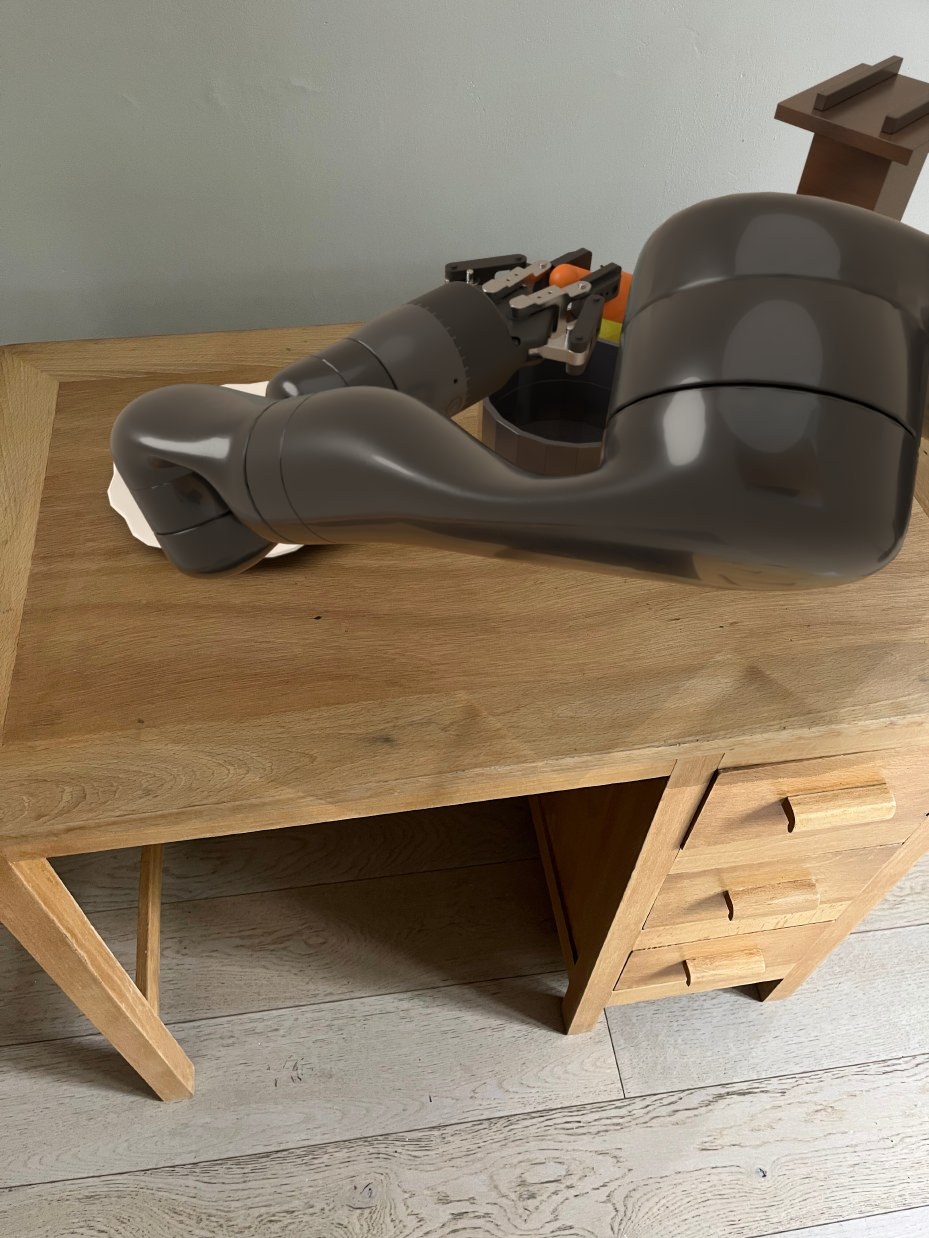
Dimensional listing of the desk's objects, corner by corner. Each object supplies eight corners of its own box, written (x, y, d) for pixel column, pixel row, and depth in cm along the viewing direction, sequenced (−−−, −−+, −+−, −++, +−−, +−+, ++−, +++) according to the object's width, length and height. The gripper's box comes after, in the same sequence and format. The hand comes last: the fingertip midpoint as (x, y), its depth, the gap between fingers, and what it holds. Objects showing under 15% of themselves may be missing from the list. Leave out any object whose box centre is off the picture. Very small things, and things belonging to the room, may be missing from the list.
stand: (838, 465, 83) (1008, 88, 57) (774, 520, 78) (927, 135, 53) (744, 413, 88) (861, 45, 62) (677, 462, 83) (775, 84, 58)
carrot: (670, 340, 72) (691, 297, 70) (564, 314, 59) (587, 262, 57) (636, 322, 73) (656, 280, 72) (526, 293, 61) (548, 242, 59)
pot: (682, 476, 82) (705, 389, 74) (568, 562, 75) (580, 475, 67) (557, 400, 89) (567, 313, 82) (443, 471, 82) (441, 383, 75)
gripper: (502, 360, 48) (690, 255, 56) (349, 266, 55) (536, 183, 62) (497, 463, 54) (667, 355, 62) (359, 367, 61) (529, 280, 68)
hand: (601, 269), depth 62 cm, fingers closed on carrot, 2 cm apart
